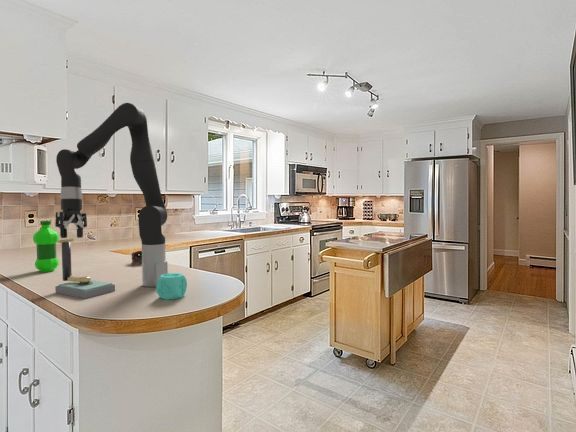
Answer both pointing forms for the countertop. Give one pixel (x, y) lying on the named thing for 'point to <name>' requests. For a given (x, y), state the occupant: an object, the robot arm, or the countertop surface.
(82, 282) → the t key
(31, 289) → the countertop surface
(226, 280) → the countertop surface
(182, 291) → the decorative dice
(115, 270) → the countertop surface
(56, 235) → the plastic bottle
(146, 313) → the countertop surface
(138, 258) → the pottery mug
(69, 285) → the plate
